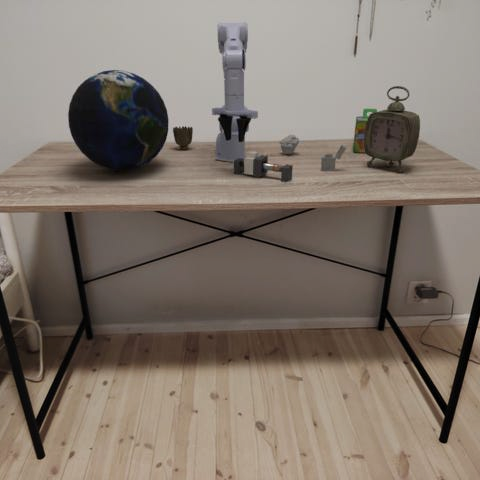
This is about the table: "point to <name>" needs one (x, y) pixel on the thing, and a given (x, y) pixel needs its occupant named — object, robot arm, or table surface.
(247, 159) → the sleeve
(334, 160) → the lighter
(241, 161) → the linear slide rail
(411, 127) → the tabletop clock
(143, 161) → the globe
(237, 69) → the robot arm
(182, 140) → the cup
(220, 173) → the table surface
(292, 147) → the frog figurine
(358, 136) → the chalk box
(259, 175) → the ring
